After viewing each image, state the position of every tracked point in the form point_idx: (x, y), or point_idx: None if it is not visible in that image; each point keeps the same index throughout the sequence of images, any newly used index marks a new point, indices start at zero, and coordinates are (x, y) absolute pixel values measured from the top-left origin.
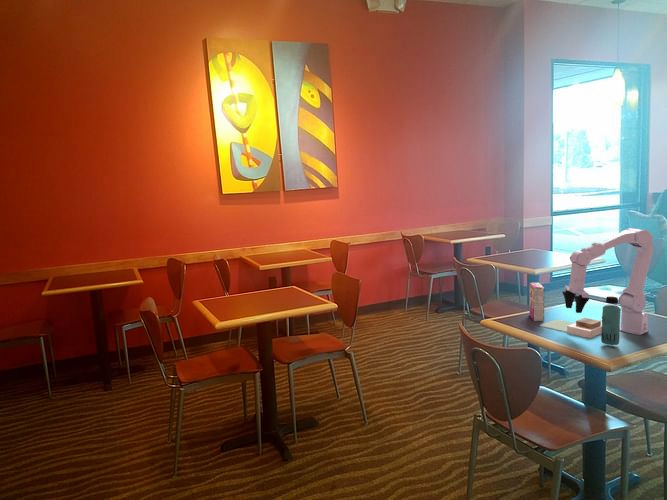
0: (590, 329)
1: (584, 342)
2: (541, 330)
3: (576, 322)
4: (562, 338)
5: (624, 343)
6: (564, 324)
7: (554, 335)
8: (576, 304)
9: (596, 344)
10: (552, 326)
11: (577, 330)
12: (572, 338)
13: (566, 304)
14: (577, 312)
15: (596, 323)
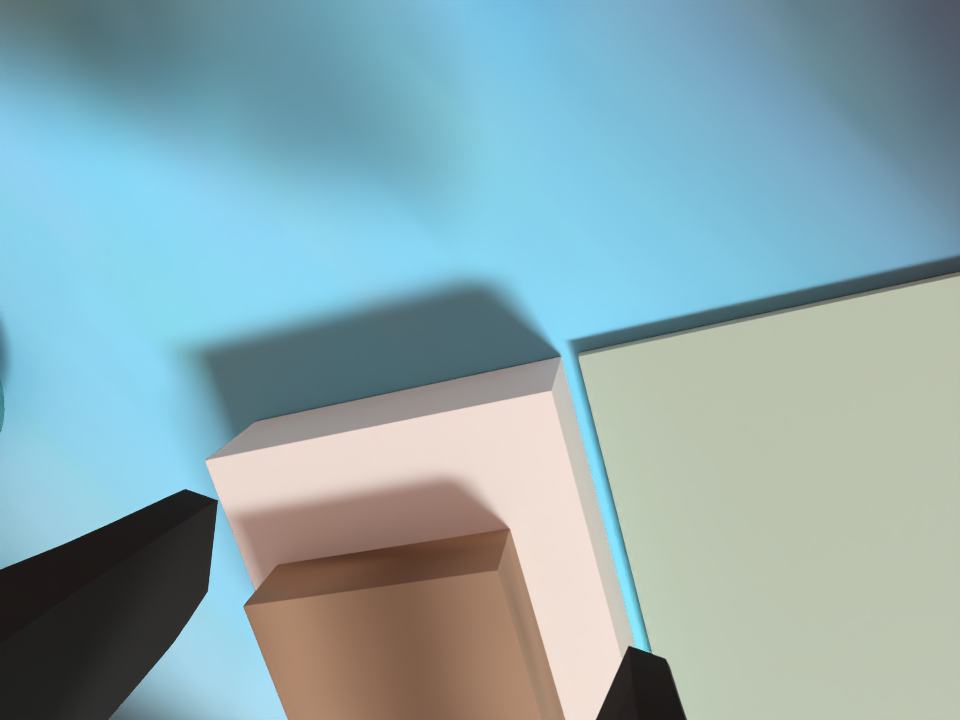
0: (265, 527)
1: (146, 227)
2: (869, 83)
3: (495, 556)
4: (381, 84)
5: None
6: (849, 609)
7: (546, 82)
8: (3, 597)
9: (48, 295)
10: (887, 383)
11: (389, 411)
12: (327, 218)
13: (635, 712)
14: (173, 503)
15: (290, 705)
